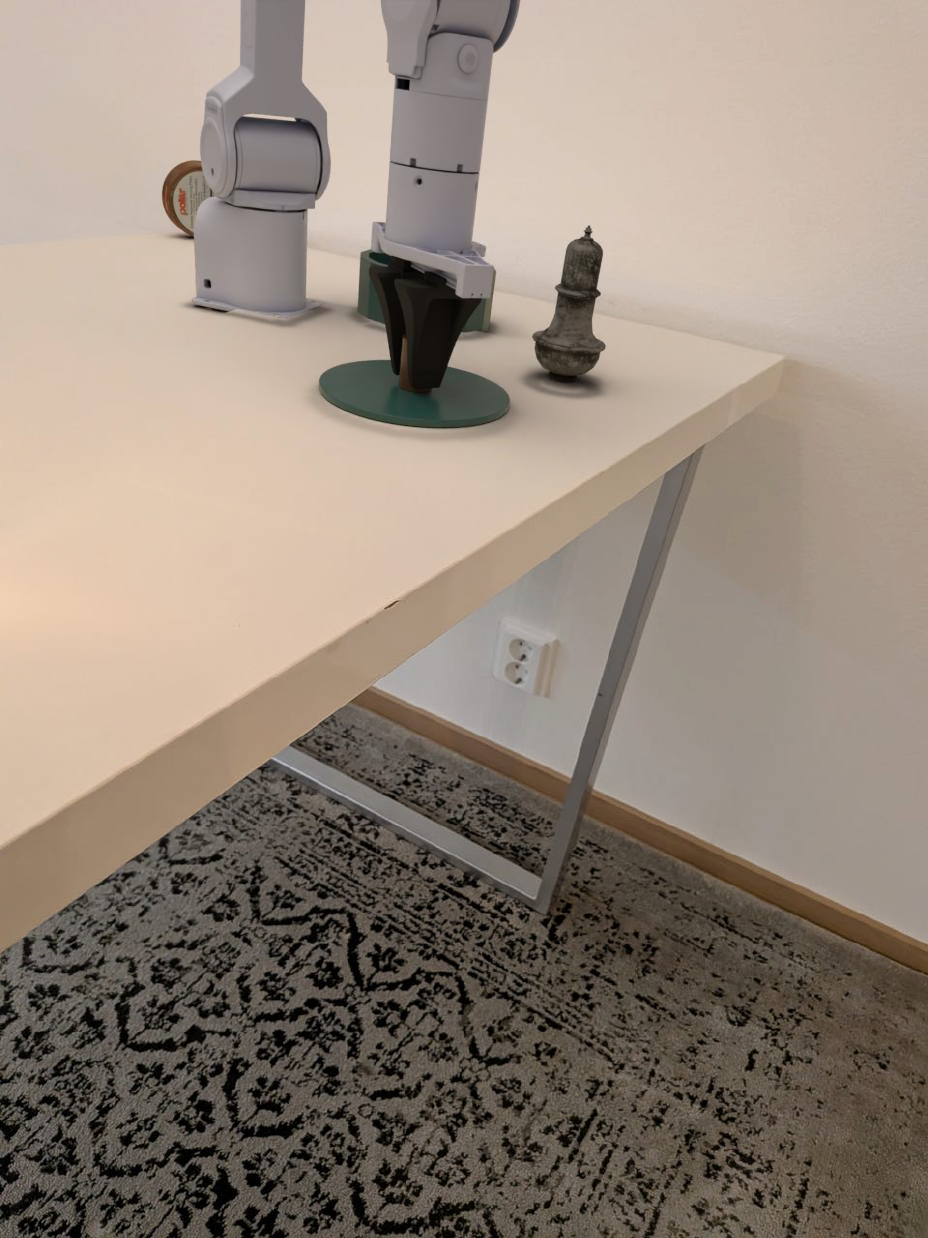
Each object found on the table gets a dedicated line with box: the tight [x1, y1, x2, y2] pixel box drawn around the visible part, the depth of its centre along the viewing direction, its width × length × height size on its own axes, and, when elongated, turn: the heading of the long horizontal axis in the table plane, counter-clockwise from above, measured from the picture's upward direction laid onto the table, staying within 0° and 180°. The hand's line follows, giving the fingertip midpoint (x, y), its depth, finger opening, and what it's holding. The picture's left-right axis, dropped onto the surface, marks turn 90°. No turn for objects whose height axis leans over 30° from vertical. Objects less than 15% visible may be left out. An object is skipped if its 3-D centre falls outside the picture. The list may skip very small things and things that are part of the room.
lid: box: [318, 334, 511, 428], centre depth 62 cm, size 14×14×5 cm
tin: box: [161, 159, 217, 237], centre depth 108 cm, size 15×3×8 cm, turn 119°
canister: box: [357, 248, 497, 333], centre depth 83 cm, size 13×13×5 cm
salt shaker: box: [531, 225, 607, 383], centre depth 68 cm, size 6×6×12 cm
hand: (416, 380), depth 62 cm, fingers closed on lid, 2 cm apart
